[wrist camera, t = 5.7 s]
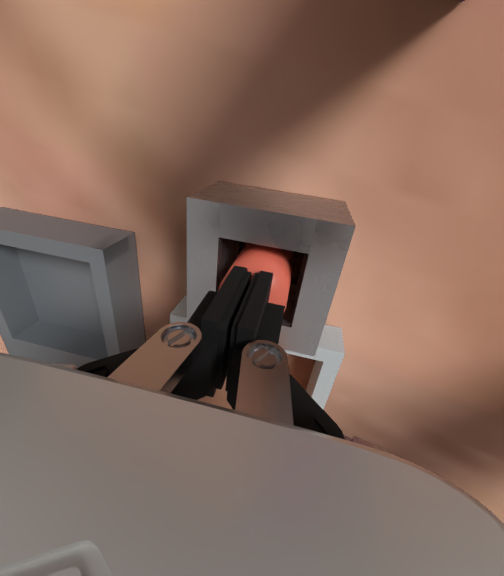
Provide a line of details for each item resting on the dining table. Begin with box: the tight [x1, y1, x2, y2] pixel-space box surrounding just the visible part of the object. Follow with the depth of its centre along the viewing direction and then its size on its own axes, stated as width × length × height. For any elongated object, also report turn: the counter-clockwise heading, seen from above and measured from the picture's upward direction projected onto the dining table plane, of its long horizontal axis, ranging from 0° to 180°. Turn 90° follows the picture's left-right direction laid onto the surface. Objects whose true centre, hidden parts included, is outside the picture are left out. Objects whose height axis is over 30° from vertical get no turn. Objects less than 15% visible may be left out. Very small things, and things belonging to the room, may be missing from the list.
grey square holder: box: [187, 181, 355, 357], centre depth 15 cm, size 7×7×4 cm
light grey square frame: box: [170, 295, 345, 409], centre depth 21 cm, size 11×11×2 cm
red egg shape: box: [219, 243, 294, 312], centre depth 14 cm, size 3×3×4 cm
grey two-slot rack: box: [0, 207, 146, 368], centre depth 23 cm, size 21×10×3 cm, turn 173°
